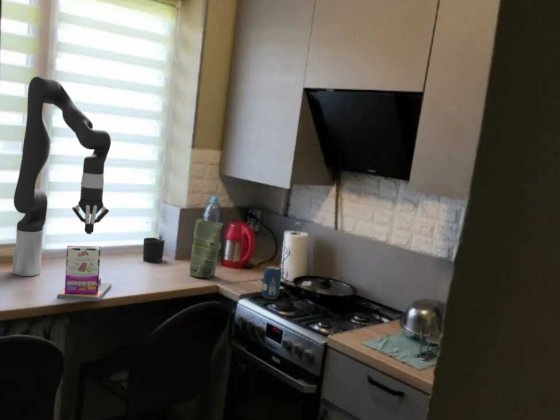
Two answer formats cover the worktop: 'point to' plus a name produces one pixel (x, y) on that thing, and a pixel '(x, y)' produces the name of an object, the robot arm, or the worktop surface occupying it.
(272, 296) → the soda can
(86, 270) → the candy bar box
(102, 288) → the activity board
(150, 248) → the pen holder
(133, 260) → the worktop surface
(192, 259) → the pouch
